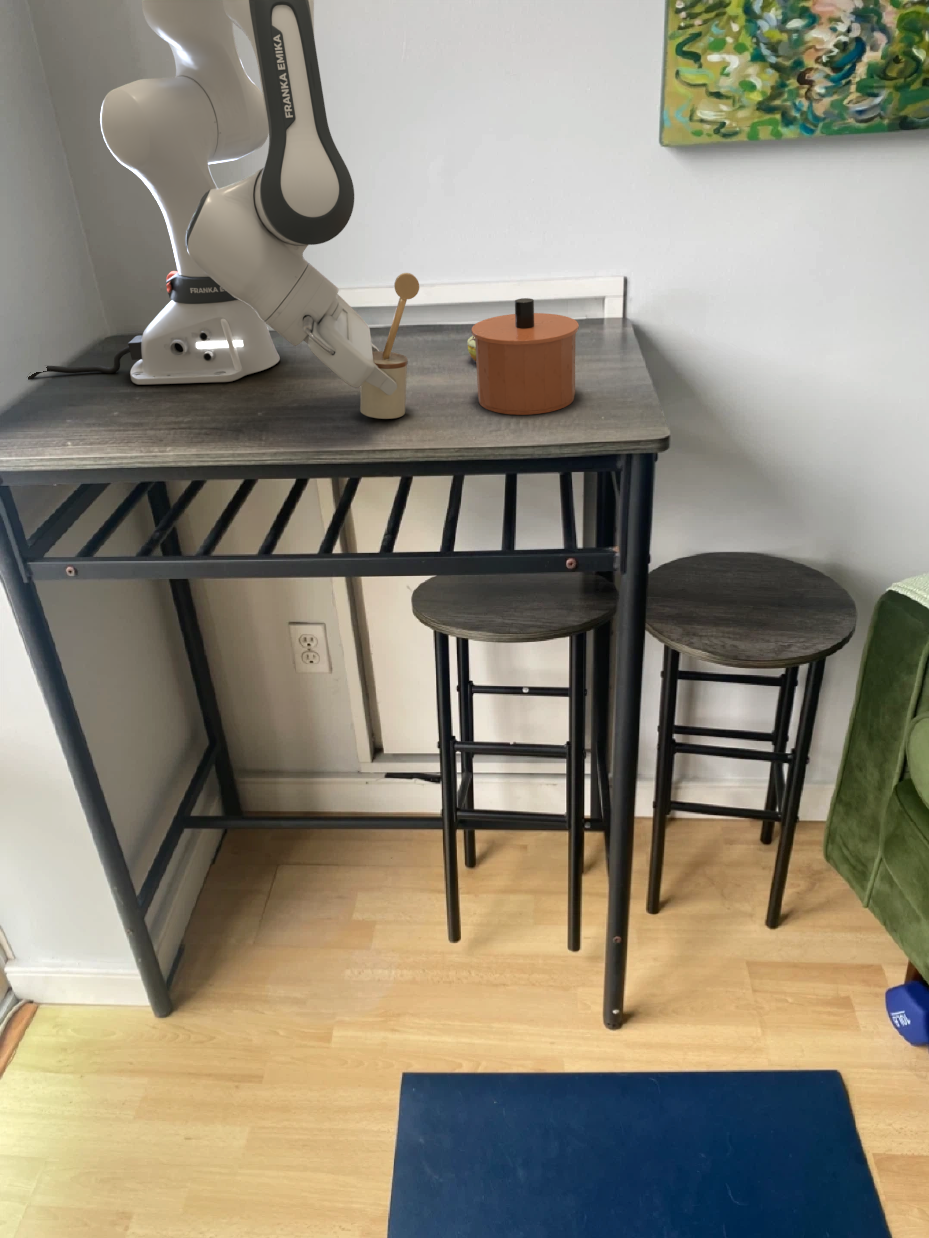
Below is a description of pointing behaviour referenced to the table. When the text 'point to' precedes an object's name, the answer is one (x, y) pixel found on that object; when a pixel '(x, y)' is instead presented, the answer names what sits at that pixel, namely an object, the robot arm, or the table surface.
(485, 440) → the table surface
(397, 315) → the crock
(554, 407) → the pot
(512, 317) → the pot lid
